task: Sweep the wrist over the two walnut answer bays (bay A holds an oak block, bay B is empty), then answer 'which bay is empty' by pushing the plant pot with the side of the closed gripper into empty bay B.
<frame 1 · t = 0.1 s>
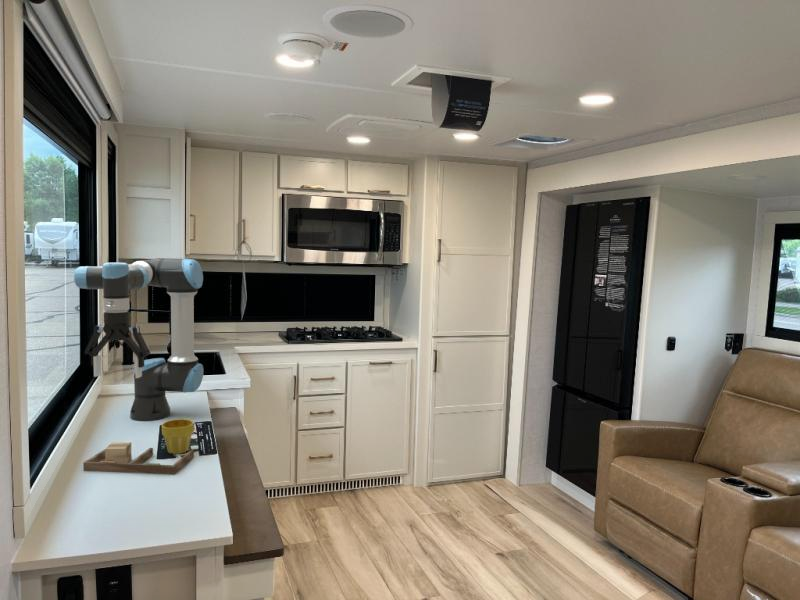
hand: (118, 376, 188), 28 cm above the worktop, fingers open, 13 cm apart
plant pot: (178, 451, 201), on the worktop
oak block: (118, 463, 189), on the worktop
answer bays: (139, 463, 189), on the worktop
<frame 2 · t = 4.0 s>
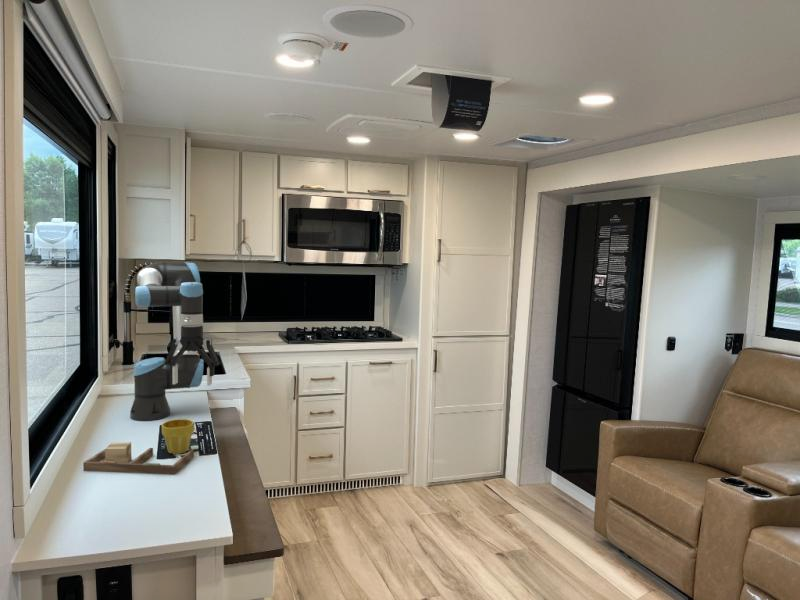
hand: (192, 384, 212), 20 cm above the worktop, fingers open, 12 cm apart
nothing on the worktop moved.
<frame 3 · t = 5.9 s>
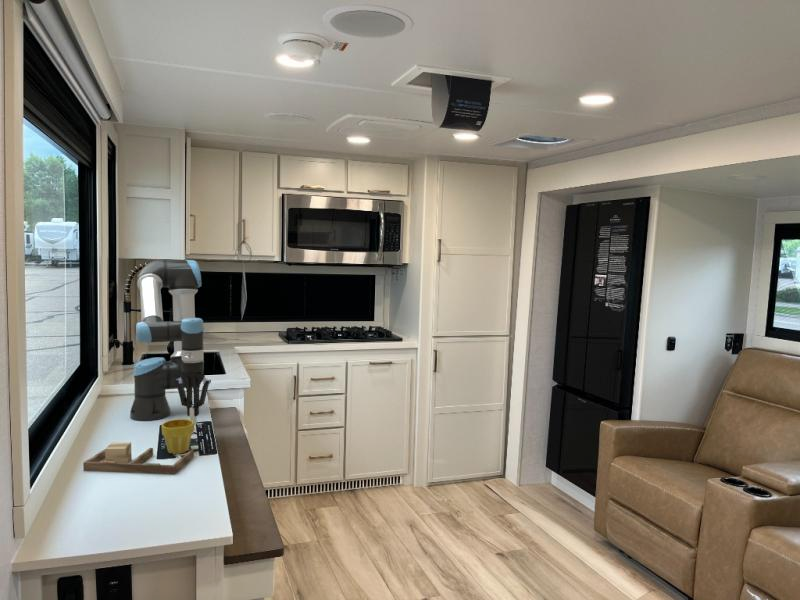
hand: (193, 424, 214), 5 cm above the worktop, fingers closed
nothing on the worktop moved.
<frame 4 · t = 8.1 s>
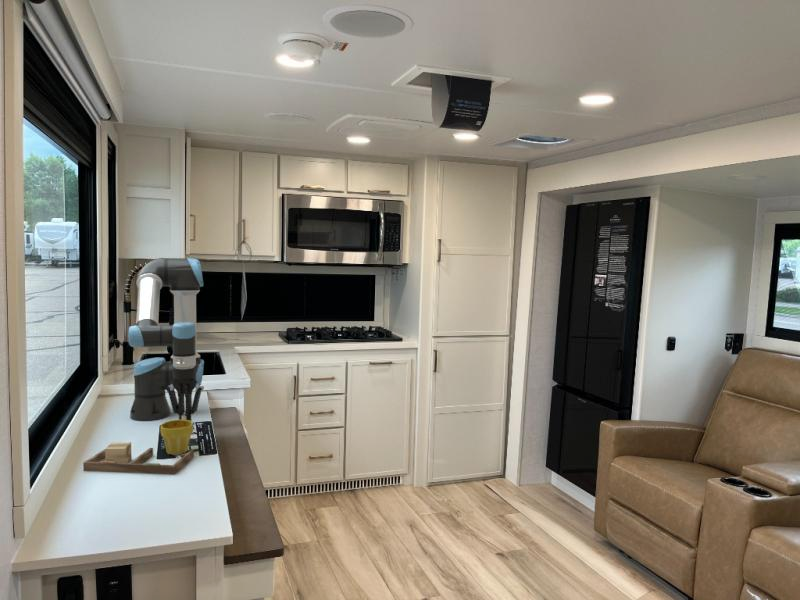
hand: (185, 432, 207), 5 cm above the worktop, fingers closed
plant pot: (177, 452, 200), on the worktop, touching gripper
everything else where it was.
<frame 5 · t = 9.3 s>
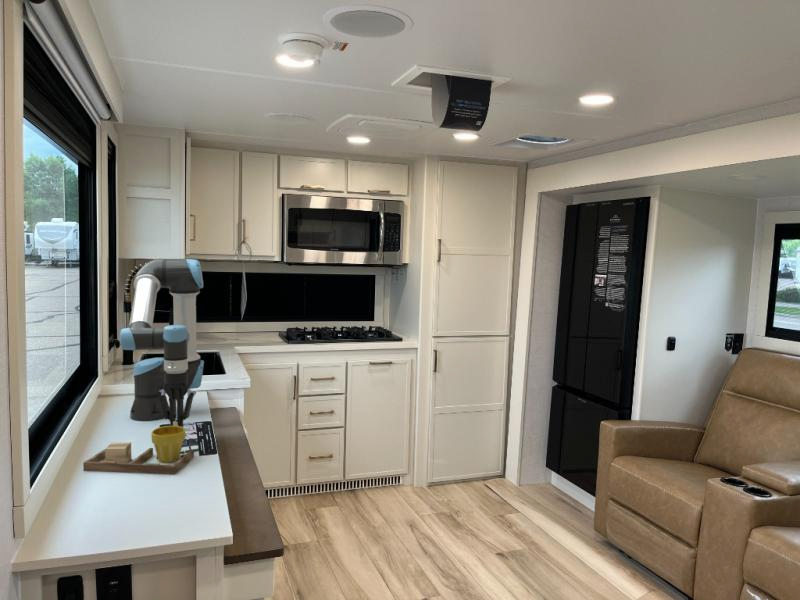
hand: (177, 439, 200), 5 cm above the worktop, fingers closed
plant pot: (168, 459, 194), on the worktop, touching gripper
everything else where it was.
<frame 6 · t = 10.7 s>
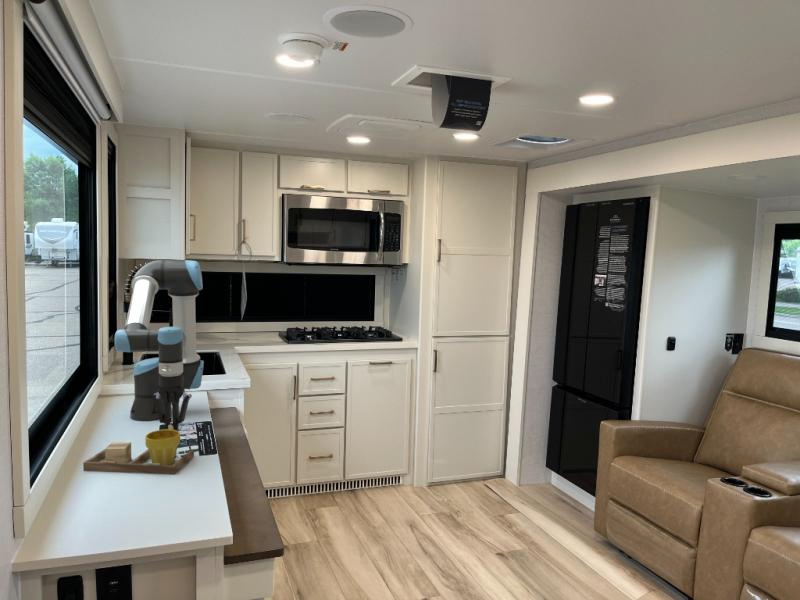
hand: (172, 443, 196), 5 cm above the worktop, fingers closed
plant pot: (163, 464, 190), on the worktop, touching gripper
everything else where it was.
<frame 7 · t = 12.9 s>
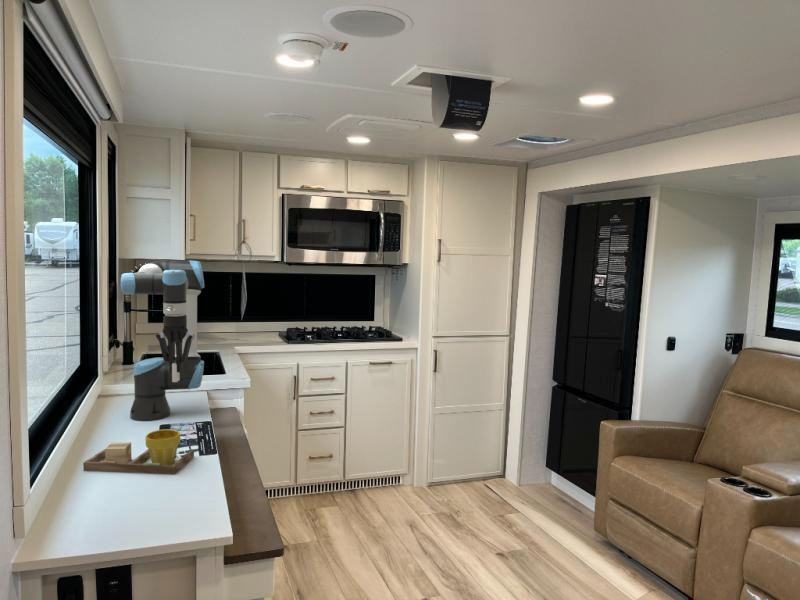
hand: (175, 381, 205), 23 cm above the worktop, fingers closed
plant pot: (163, 464, 190), on the worktop
everything else where it was.
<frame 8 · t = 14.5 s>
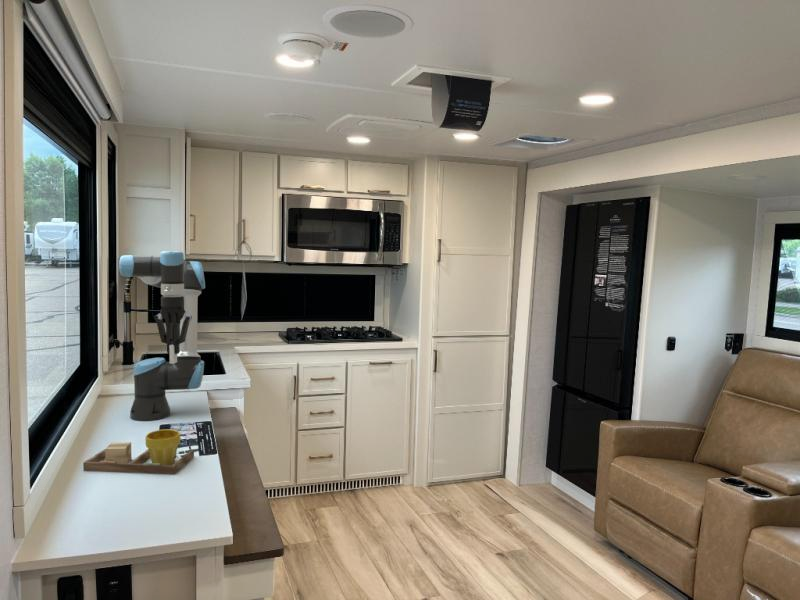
hand: (173, 362, 205), 29 cm above the worktop, fingers closed
nothing on the worktop moved.
at the end: plant pot inside the target area (1.8 cm from its centre), on the worktop; plant pot tilted 0°; oak block moved 0.1 cm from its start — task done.
